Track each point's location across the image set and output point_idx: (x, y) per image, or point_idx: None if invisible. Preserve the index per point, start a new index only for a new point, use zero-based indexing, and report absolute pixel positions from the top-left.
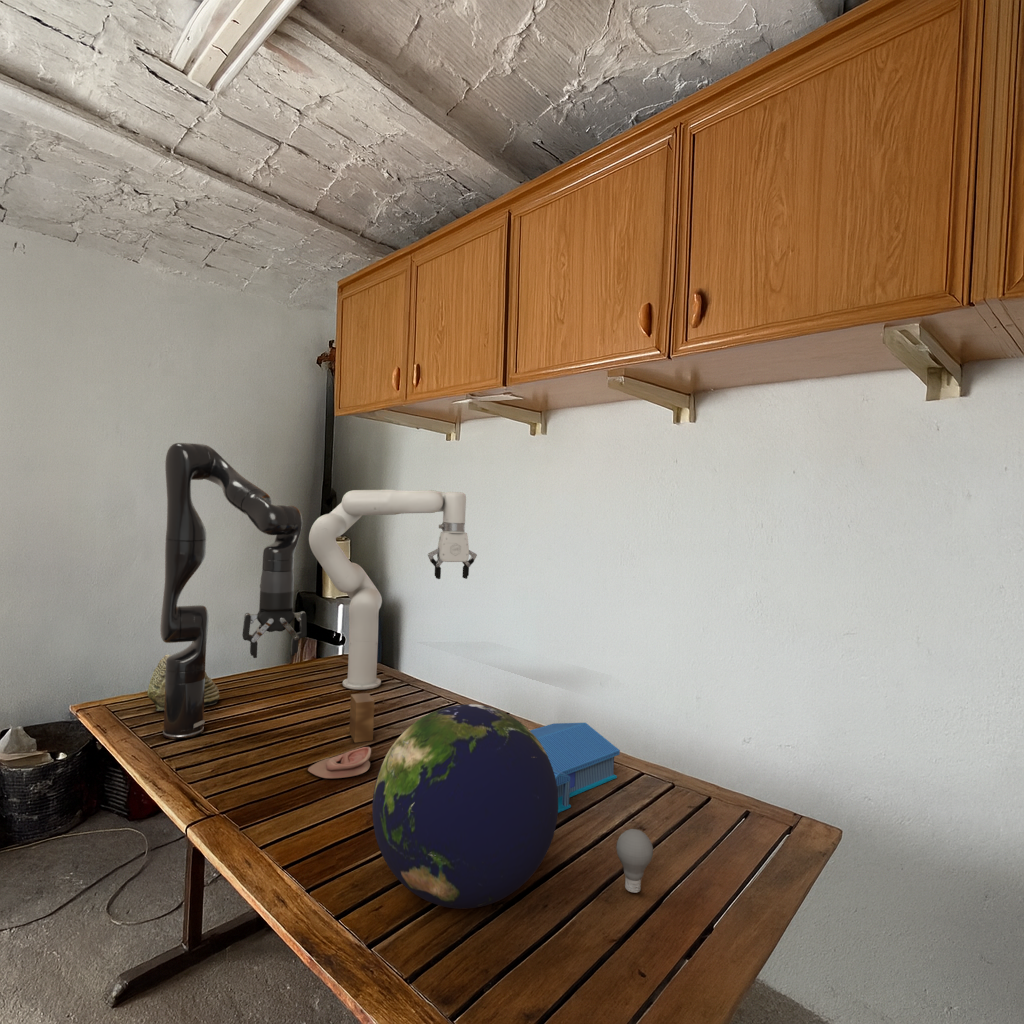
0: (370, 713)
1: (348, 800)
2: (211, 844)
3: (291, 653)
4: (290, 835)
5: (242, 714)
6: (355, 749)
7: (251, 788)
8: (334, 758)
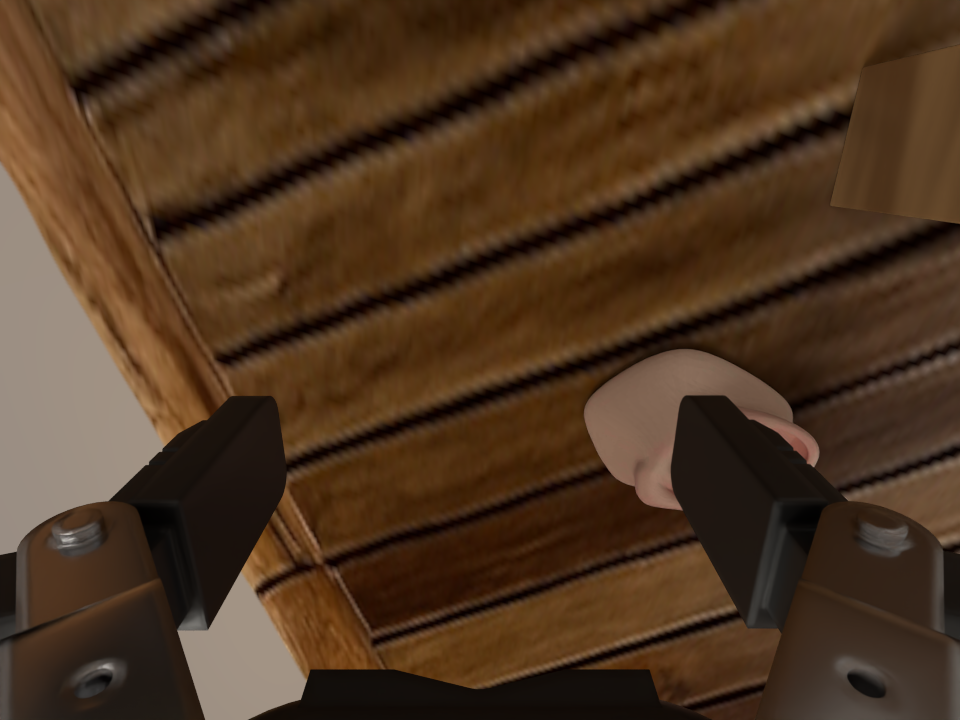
0: None
1: (639, 605)
2: None
3: (680, 465)
4: None
5: None
6: (770, 422)
7: (404, 459)
8: None
